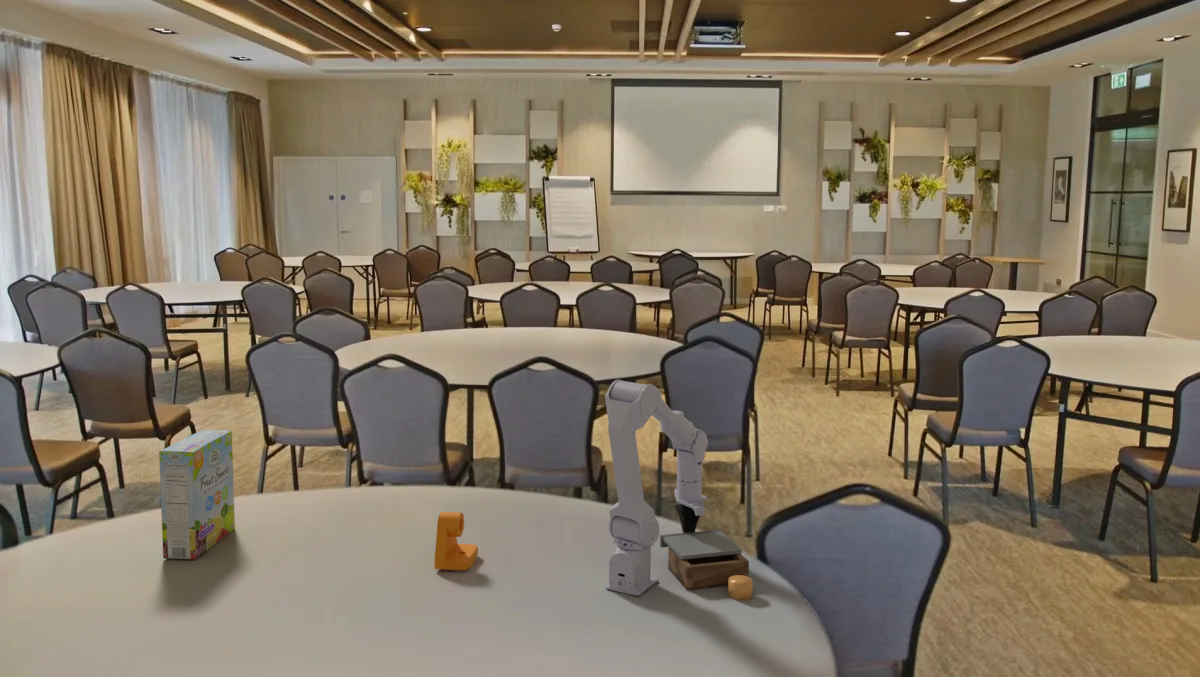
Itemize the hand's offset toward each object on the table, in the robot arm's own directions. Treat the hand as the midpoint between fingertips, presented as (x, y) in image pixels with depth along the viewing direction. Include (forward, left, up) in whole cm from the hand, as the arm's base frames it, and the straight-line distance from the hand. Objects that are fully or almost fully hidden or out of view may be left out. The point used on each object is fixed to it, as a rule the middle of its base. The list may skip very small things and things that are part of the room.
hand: (688, 535), depth 212 cm
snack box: (-51, +104, -5) cm, 117 cm away
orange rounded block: (-14, -19, -5) cm, 24 cm away
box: (-8, -9, -5) cm, 13 cm away
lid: (-5, -5, -1) cm, 8 cm away
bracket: (-30, +43, -5) cm, 53 cm away
